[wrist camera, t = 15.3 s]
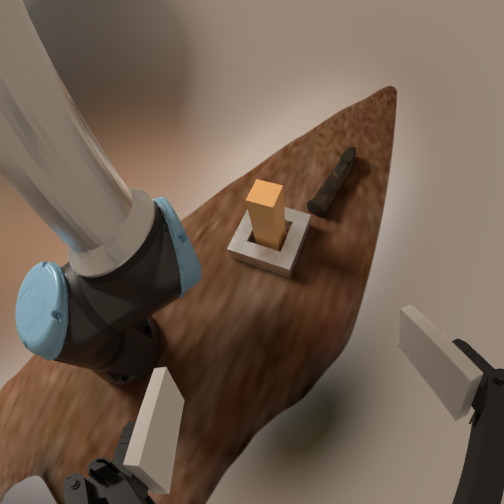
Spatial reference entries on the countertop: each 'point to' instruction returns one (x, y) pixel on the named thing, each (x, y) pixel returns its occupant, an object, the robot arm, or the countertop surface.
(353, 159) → the hand tool
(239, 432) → the countertop surface
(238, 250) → the square frame
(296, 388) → the countertop surface
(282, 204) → the orange rectangular block
